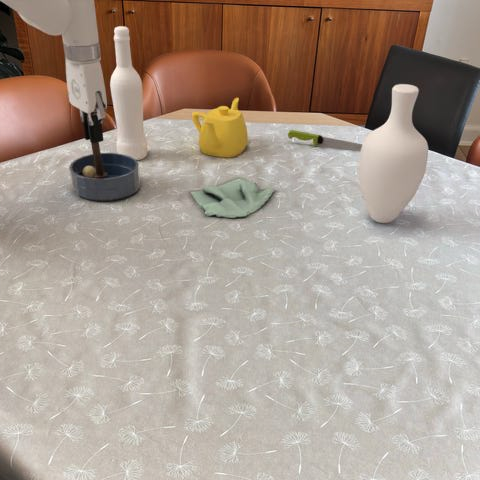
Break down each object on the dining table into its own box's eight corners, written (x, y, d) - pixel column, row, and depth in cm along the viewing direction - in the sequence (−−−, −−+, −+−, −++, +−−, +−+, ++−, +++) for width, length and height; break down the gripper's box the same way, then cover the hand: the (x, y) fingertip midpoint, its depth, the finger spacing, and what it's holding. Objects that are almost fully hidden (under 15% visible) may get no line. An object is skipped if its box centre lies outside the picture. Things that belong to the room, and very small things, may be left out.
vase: (362, 201, 156) (381, 73, 137) (421, 214, 152) (450, 83, 132) (341, 225, 146) (360, 91, 127) (404, 240, 142) (432, 103, 123)
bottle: (111, 156, 173) (96, 27, 153) (131, 147, 178) (119, 21, 158) (134, 164, 170) (121, 33, 150) (154, 154, 175) (145, 26, 154)
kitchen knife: (365, 155, 181) (368, 144, 179) (365, 156, 180) (367, 145, 178) (287, 140, 183) (289, 129, 181) (286, 141, 182) (288, 130, 180)
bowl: (93, 208, 151) (90, 185, 147) (61, 185, 160) (57, 162, 156) (152, 191, 158) (151, 168, 154) (118, 169, 167) (116, 147, 163)
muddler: (97, 184, 156) (87, 118, 146) (90, 180, 158) (79, 114, 148) (111, 180, 158) (101, 114, 148) (104, 176, 160) (93, 111, 150)
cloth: (201, 221, 147) (200, 211, 145) (186, 182, 162) (186, 172, 161) (288, 215, 150) (289, 204, 148) (266, 177, 166) (266, 167, 164)
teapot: (207, 131, 189) (207, 90, 181) (258, 138, 185) (259, 98, 177) (176, 158, 174) (174, 115, 166) (230, 167, 170) (230, 123, 162)
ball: (85, 180, 157) (77, 168, 157) (89, 186, 161) (82, 174, 161) (97, 172, 157) (89, 160, 157) (101, 178, 161) (94, 166, 161)
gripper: (49, 46, 142) (63, 133, 155) (84, 63, 133) (96, 154, 146) (80, 41, 145) (91, 127, 158) (116, 57, 137) (125, 147, 149)
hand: (94, 139), depth 152 cm, fingers closed on muddler, 2 cm apart
